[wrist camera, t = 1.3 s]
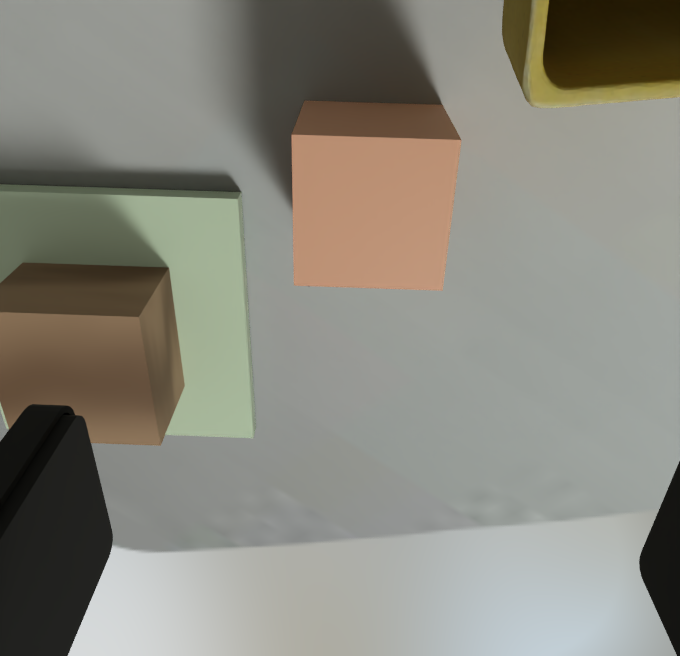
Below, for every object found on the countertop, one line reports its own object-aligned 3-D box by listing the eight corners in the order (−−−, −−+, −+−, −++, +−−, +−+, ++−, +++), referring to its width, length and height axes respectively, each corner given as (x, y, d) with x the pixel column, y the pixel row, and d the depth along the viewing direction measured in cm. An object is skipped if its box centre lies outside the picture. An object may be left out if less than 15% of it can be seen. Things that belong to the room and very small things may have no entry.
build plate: (-62, 182, 24) (-74, 188, 24) (241, 192, 24) (237, 199, 23) (14, 418, 31) (6, 428, 30) (255, 427, 30) (253, 438, 30)
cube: (304, 99, 22) (291, 134, 18) (442, 104, 22) (461, 140, 18) (305, 228, 25) (294, 285, 21) (428, 232, 25) (442, 290, 21)
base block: (22, 262, 25) (-31, 311, 22) (168, 267, 25) (138, 317, 22) (54, 381, 28) (12, 440, 25) (184, 386, 28) (160, 445, 25)
